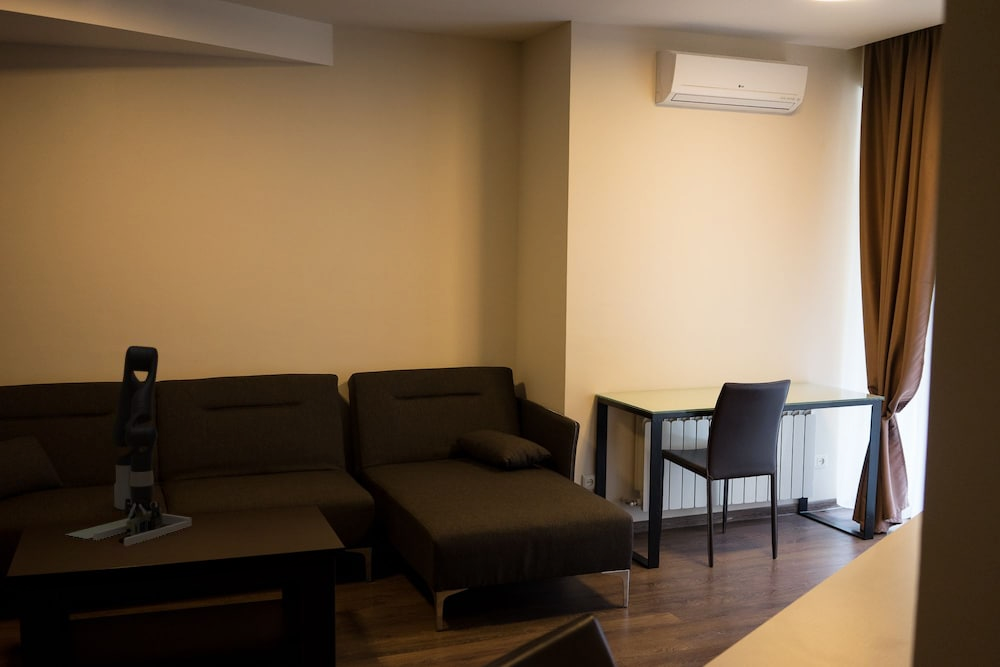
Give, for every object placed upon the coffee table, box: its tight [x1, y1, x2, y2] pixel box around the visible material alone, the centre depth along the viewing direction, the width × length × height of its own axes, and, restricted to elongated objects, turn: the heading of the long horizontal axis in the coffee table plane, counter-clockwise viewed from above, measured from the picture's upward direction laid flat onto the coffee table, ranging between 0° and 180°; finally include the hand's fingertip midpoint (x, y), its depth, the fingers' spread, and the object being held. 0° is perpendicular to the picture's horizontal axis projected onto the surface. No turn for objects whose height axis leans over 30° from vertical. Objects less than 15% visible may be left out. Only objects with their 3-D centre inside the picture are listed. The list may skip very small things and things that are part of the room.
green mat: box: [64, 517, 130, 540], centre depth 324 cm, size 11×28×1 cm, turn 154°
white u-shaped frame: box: [92, 512, 193, 547], centre depth 318 cm, size 16×28×4 cm, turn 154°
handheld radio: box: [118, 507, 164, 543], centre depth 317 cm, size 7×3×25 cm
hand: (142, 529), depth 317 cm, fingers open, 8 cm apart
